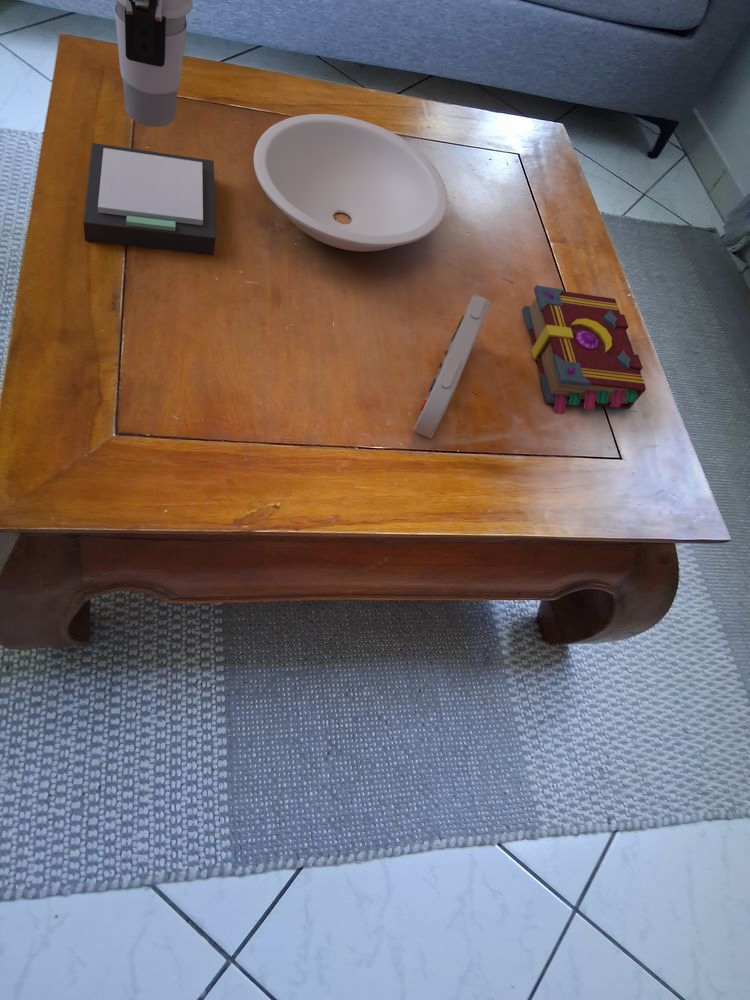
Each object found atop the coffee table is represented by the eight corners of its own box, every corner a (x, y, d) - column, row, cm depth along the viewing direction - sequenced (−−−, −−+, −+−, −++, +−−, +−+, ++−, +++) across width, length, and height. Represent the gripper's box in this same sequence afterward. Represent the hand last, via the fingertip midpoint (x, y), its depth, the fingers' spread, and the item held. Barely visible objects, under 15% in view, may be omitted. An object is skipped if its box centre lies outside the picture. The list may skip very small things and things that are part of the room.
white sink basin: (216, 236, 90) (220, 188, 84) (287, 136, 104) (295, 89, 98) (403, 314, 91) (420, 272, 85) (450, 205, 105) (466, 163, 99)
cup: (202, 122, 75) (210, -8, 65) (148, 143, 71) (148, 8, 61) (152, 83, 76) (153, -51, 66) (97, 101, 72) (89, -38, 63)
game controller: (454, 330, 92) (479, 277, 85) (471, 338, 92) (497, 286, 85) (404, 443, 80) (428, 393, 74) (423, 452, 80) (449, 403, 74)
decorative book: (600, 322, 99) (619, 294, 95) (631, 420, 91) (654, 394, 87) (520, 311, 97) (537, 281, 92) (545, 412, 88) (565, 384, 84)
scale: (213, 255, 88) (216, 232, 85) (84, 240, 84) (82, 216, 81) (212, 178, 95) (214, 154, 92) (93, 161, 91) (91, 136, 89)
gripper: (112, -277, 57) (118, -20, 71) (75, -191, 48) (91, 83, 62) (214, -245, 59) (200, -1, 73) (197, -156, 50) (185, 103, 64)
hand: (150, 36), depth 68 cm, fingers closed on cup, 7 cm apart
